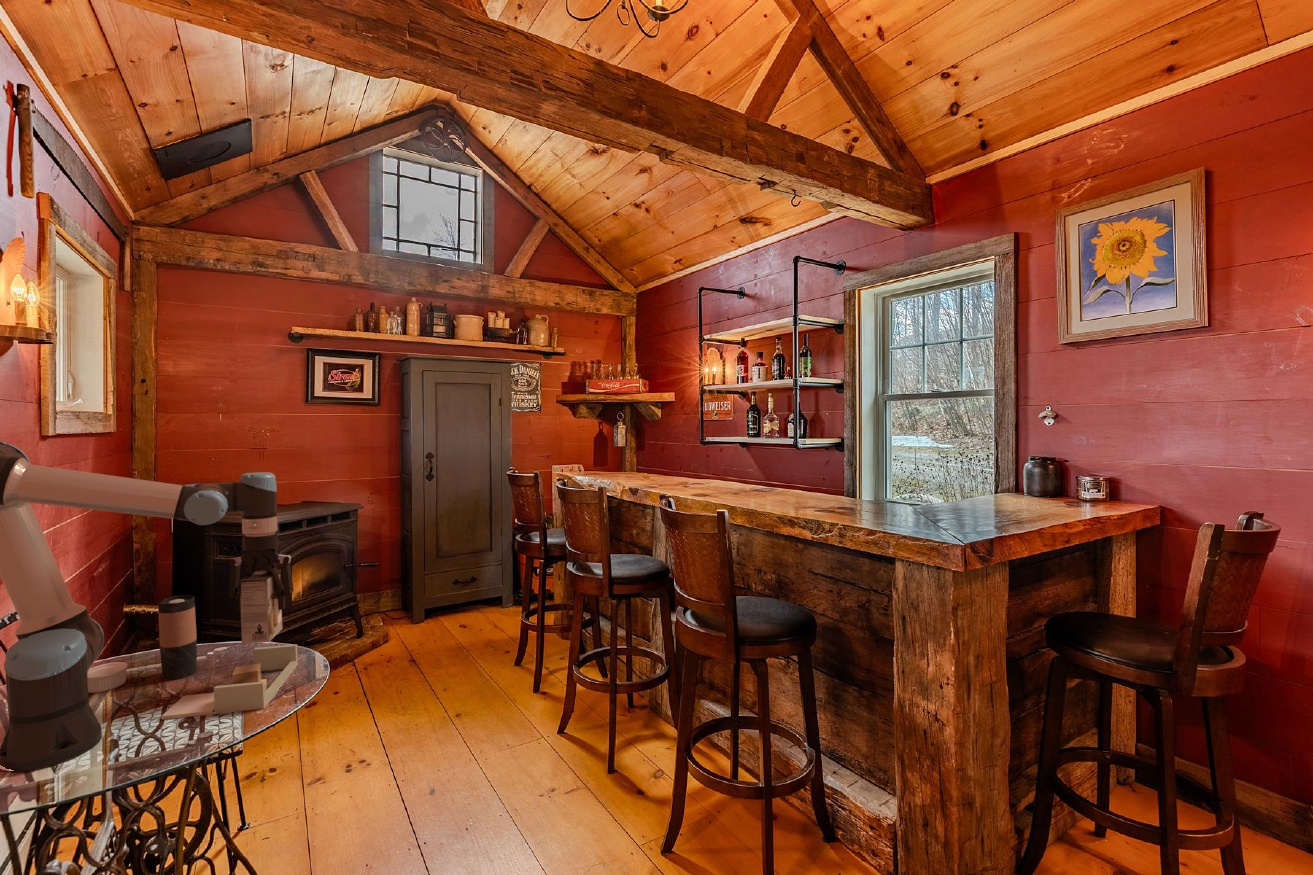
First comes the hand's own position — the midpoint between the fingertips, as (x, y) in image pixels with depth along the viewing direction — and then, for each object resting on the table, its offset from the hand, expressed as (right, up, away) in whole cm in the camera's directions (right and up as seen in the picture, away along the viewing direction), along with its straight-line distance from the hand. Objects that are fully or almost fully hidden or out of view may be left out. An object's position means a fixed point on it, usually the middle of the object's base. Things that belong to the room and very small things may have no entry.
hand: (262, 623), depth 156 cm
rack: (+1, -15, -3) cm, 16 cm away
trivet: (-7, -16, -12) cm, 21 cm away
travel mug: (-25, -15, +5) cm, 30 cm away
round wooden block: (-39, -16, -1) cm, 42 cm away
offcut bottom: (+3, -16, -10) cm, 19 cm away
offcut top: (+3, -12, -10) cm, 16 cm away
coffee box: (0, -4, 0) cm, 4 cm away
